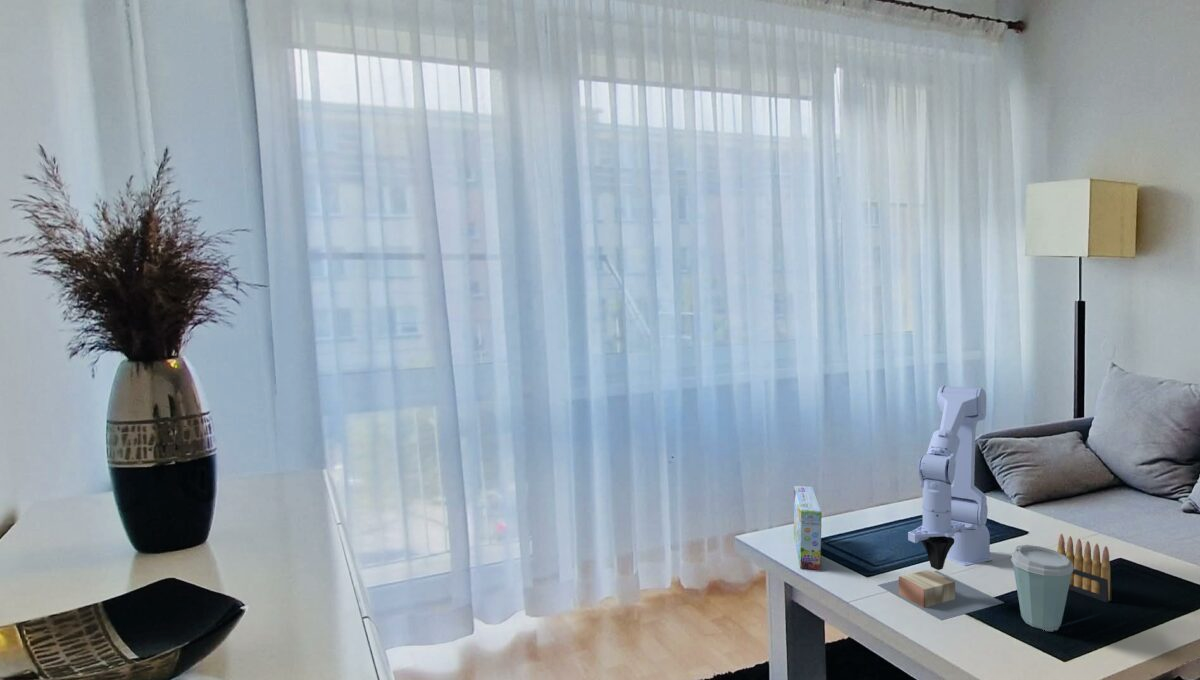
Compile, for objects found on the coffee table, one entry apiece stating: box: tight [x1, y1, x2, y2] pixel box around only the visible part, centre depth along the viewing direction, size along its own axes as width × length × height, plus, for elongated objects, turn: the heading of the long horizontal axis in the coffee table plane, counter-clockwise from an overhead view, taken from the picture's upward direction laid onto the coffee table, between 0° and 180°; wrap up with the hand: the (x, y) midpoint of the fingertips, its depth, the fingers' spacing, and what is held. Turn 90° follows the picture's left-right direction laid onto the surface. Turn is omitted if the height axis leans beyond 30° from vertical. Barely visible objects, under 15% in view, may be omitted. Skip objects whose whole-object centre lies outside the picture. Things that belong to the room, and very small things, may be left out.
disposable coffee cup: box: [1010, 544, 1074, 632], centre depth 136 cm, size 11×11×15 cm
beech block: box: [898, 569, 955, 608], centre depth 149 cm, size 4×7×9 cm
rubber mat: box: [877, 570, 1005, 621], centre depth 151 cm, size 18×18×1 cm
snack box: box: [793, 485, 822, 570], centre depth 176 cm, size 21×6×15 cm, turn 168°
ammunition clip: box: [1056, 533, 1113, 603], centre depth 149 cm, size 11×2×12 cm, turn 29°
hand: (936, 567), depth 150 cm, fingers closed
